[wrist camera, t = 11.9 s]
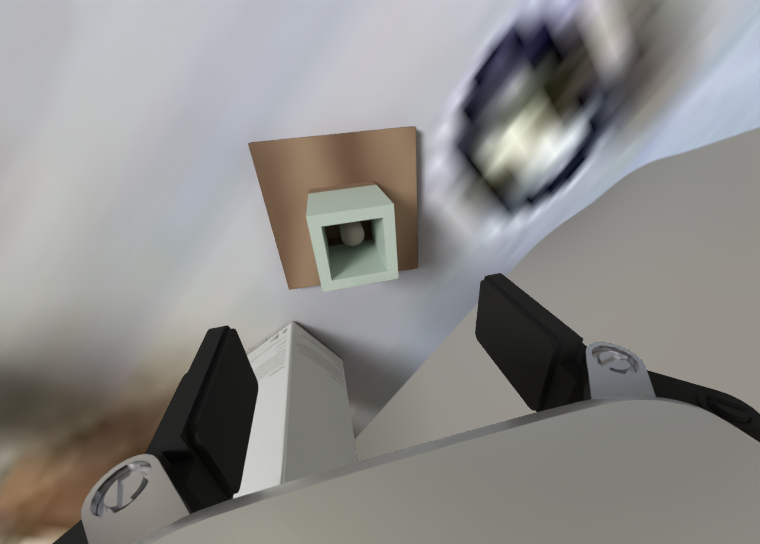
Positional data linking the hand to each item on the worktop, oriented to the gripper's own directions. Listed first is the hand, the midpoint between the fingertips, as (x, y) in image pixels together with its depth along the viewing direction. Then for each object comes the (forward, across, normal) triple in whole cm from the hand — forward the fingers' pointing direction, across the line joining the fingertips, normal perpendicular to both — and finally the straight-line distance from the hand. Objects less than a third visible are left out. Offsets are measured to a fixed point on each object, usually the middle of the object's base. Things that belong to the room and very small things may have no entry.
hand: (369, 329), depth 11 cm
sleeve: (+14, -1, 0) cm, 14 cm away
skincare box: (+16, +6, +15) cm, 23 cm away
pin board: (+15, -1, 0) cm, 15 cm away
